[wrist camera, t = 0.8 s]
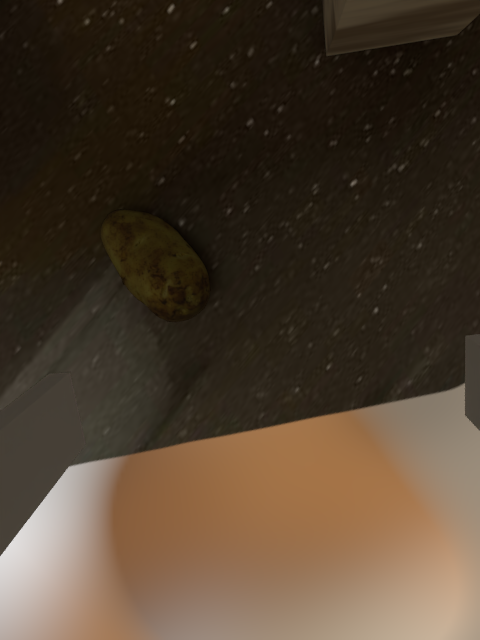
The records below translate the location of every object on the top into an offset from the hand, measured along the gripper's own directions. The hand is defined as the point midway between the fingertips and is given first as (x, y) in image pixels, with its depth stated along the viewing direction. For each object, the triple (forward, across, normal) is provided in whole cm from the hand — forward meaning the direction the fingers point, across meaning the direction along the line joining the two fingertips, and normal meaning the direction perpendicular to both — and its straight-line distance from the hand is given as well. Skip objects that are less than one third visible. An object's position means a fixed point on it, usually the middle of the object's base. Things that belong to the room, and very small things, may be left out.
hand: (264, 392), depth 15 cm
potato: (+35, -11, +2) cm, 36 cm away
